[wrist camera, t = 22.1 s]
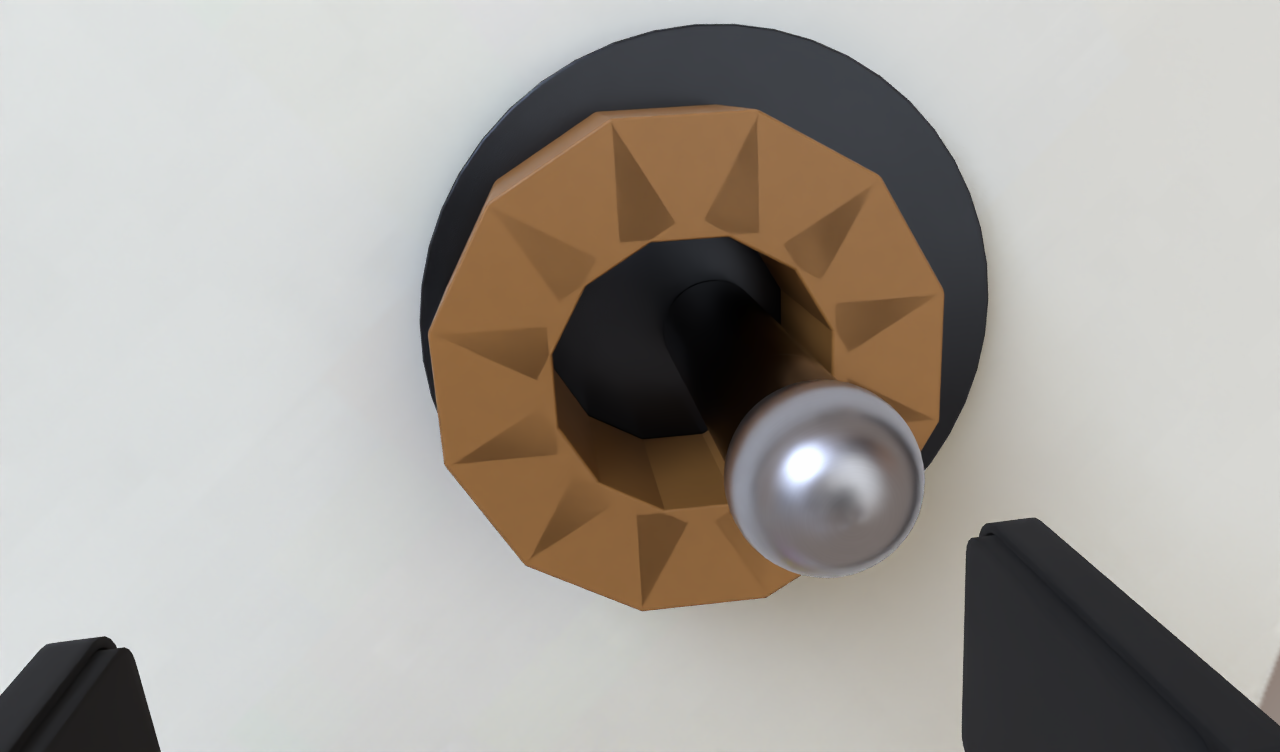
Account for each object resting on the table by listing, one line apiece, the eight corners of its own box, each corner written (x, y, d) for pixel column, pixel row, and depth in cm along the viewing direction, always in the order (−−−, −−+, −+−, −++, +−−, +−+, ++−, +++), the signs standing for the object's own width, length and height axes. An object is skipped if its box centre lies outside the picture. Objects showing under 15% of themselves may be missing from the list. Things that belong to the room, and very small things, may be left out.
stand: (465, 596, 28) (416, 988, 16) (381, 52, 23) (221, 19, 11) (963, 532, 29) (1272, 851, 17) (976, 2, 24) (1408, -74, 12)
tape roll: (476, 540, 26) (464, 631, 22) (425, 122, 23) (401, 131, 18) (869, 501, 27) (933, 580, 23) (876, 94, 24) (953, 96, 19)
